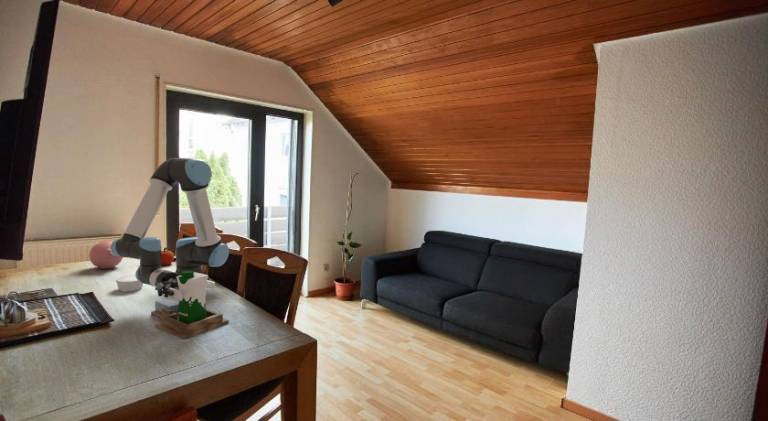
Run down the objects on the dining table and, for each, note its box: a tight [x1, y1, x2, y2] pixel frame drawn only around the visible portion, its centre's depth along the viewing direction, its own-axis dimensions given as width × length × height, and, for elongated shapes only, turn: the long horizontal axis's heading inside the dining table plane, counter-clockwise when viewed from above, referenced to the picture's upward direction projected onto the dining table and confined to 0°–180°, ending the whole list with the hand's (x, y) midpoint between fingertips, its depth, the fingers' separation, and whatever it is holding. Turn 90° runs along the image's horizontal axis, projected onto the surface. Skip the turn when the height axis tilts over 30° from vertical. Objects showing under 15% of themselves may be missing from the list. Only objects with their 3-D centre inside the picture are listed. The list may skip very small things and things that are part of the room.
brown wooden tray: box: [150, 302, 230, 340], centre depth 150 cm, size 18×31×4 cm, turn 60°
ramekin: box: [115, 274, 144, 293], centre depth 183 cm, size 11×11×5 cm
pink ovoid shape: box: [88, 240, 124, 270], centre depth 212 cm, size 15×20×15 cm
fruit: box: [161, 247, 175, 266], centre depth 227 cm, size 10×10×10 cm
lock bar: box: [154, 298, 179, 314], centre depth 155 cm, size 4×10×4 cm, turn 60°
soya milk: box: [177, 270, 209, 324], centre depth 146 cm, size 9×9×20 cm
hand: (198, 290), depth 144 cm, fingers open, 13 cm apart
